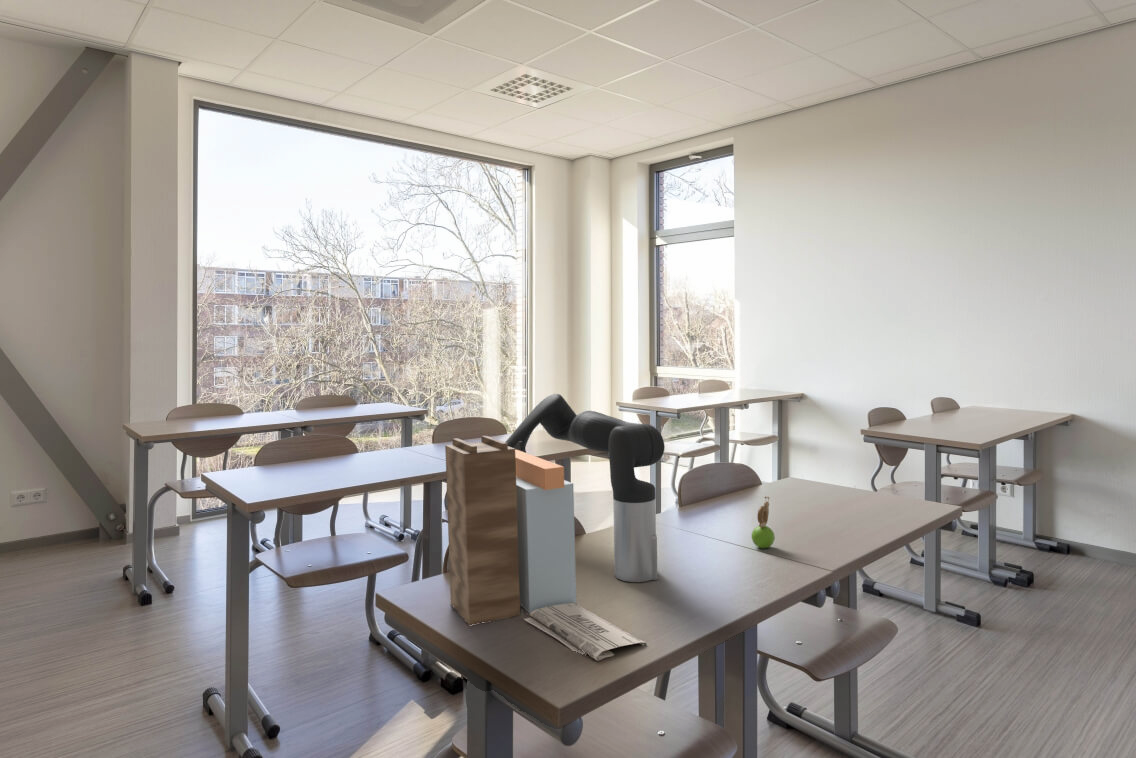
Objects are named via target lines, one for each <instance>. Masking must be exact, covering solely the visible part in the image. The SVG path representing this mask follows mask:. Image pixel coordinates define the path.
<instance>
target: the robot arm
mask: <svg viewBox="0 0 1136 758" xmlns="http://www.w3.org/2000/svg"><path fill="white" fill-rule="evenodd" d="M538 425H541V426H542V427H543V429H544V431H546V433H547V434H548V435H549V436H550V437H552V438H553V439H556V440H561V441H567V442H571V443H573V444H577V445H579V446H581V447H583V448H585V449H588V450H591V451H594V452H601V453H603V452H604V453H608V459H609V472H610V473H609V474H610V477H609V478H610V484H611V485H610V486H611V488H612V500H613V502H612V503H613V505H612V506H613V507H612V508H613V509H612V510H613V545H614V546H613V552H614V553H613V555H614V557H613V558H614V560H613V561H614V565H613V566H614V567H613V568H614V577H615V578H616V579H618V580H620V581H624V582H629V583H643V582H649V581H653V580H654V581H656V580H658V536H657V514H656V512H657V511H656V509H657V508H656V507H657V506H656V503H657V502H656V501H657V500H656V487H655V485H654V484H652V483H651V482H648V481H644V480H640V479H638V478H637V477H636V474H635V468H641V467H642V468H644V467H648V466H653V465H654V464H656V463H658V462H659V461H660V460H661V459H662V457H663V455H664V453H665V449H666V448H665V440H664V437H663V435H662V434H661V433H660V431H659V430H658V429H657V428H656V427H655V426H653V425H652V424H649V423H638V422H637V423H635V422H629V421H626V420H622V419H619V418H616V417H613V416H610V415H607V414H605V413H602V412H599V411H598V412H597V411H595V410H594V411H592V410H585V411H582V412H579V413H578V414H576V412H575V411H574V410H573V409H572V407H571V406H570V405H569V403H568V402H567V401H566V399H565V398H564V397H563V396H562V395H561V394H559V393H553V394H550V395H548V396H546V397H545V398H543V399H541V401H540V402H538V404H537V405H536V406H535V407H534V408H533V409H532V410H531V412H530V413H529V414H528V415H527V416H526V417H525V418H524V420H522V422H520V424H519V425H518V426H517V428H516V429H515V430H514V431H513V432H512V434H511V435H510V436H509V437H508V438H507V439H506V440H505V442H506V443H508V446H509V447H512V448H514V449H515V450H519V451H522V452H525V453H527V450H526V446H527V444H528V442H529V439H530V437H531V435H532V433H533V431H534V430H535V429H537V427H538Z"/></svg>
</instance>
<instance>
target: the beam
mask: <svg viewBox="0 0 1136 758" xmlns="http://www.w3.org/2000/svg"><path fill="white" fill-rule="evenodd" d="M515 458H516V477H518V478H520V479H522V480H525V481H527V482H529V483H531V484H533V485H536V486H538V487H540V488H542V489H544V490H549V489H556V488H564V480H565V466H563V465H561V464H557V463H554V462H551V461H549V460H546V459H544V458H541V457H538V456H535V455H532V454H530V453H527V452H526V453H525V452H522V451H519V450H515Z"/></svg>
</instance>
